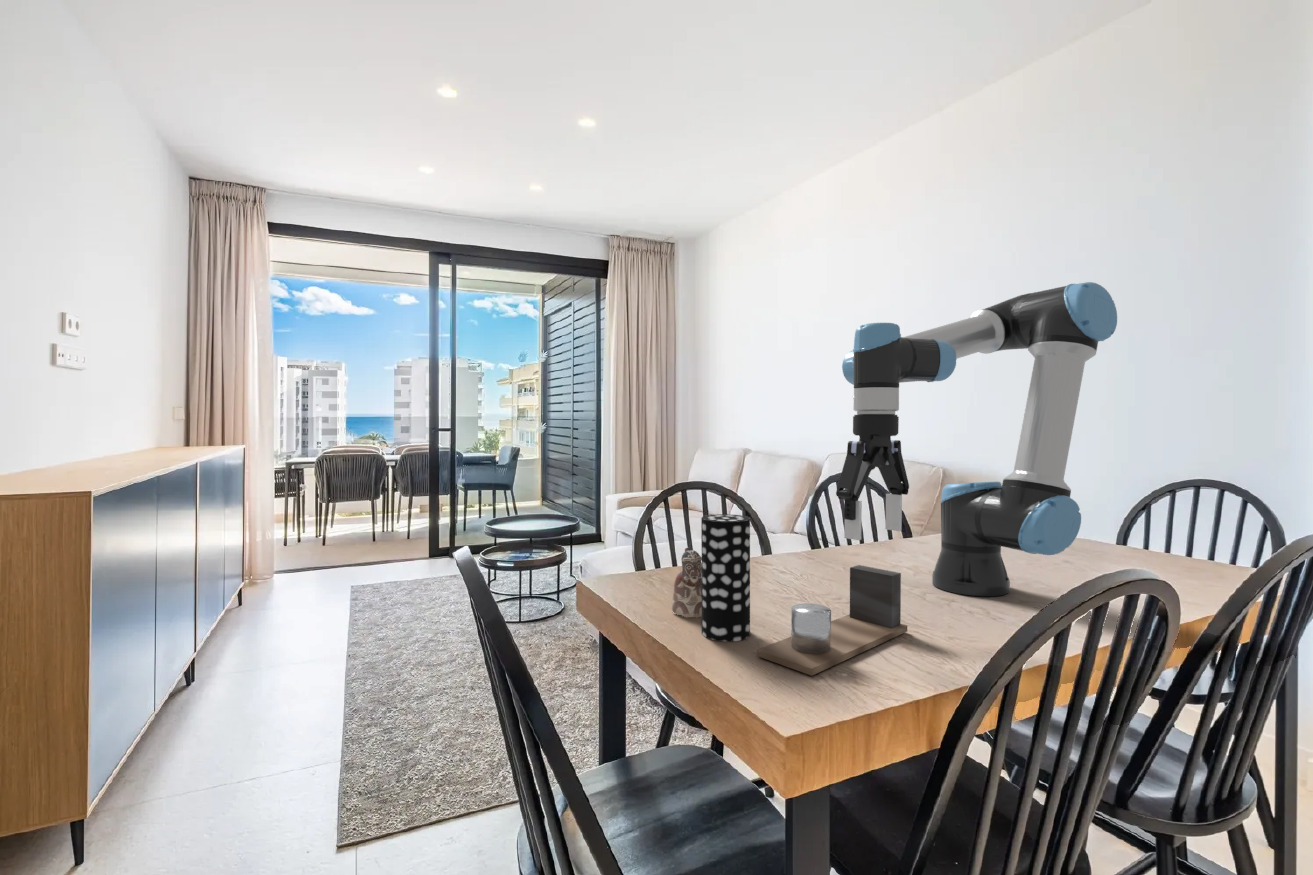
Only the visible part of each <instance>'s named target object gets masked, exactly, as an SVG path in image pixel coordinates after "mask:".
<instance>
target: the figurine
mask: <svg viewBox="0 0 1313 875" xmlns="http://www.w3.org/2000/svg"><path fill="white" fill-rule="evenodd" d="M701 560H702V555H700V554H699V552H697V551H696V550H694V549H693V550H692V549H691V548H690V547H685V548H684V552H683V554H682V555H681V567H682V571H680V572H679V573H678V574H677V576H676V577H675V579H674V583H673V593H672V594H673V596H672V601H671V610H672V611H673V612H674V613H676V614H678V615H682V616H681V617H683V616H684V617H683V618H687V617H696V618H702V566H701ZM673 612H672V613H673ZM676 614H675V615H676ZM678 615H677V616H678Z"/></svg>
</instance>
